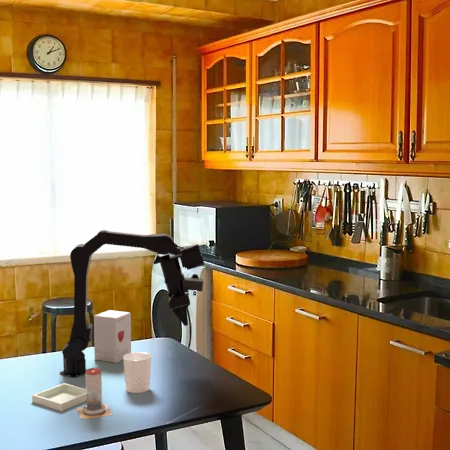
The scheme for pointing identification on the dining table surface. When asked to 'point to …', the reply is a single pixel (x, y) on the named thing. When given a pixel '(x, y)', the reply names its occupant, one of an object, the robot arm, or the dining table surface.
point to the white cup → (137, 371)
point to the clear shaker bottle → (93, 393)
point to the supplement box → (112, 335)
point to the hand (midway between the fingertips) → (185, 321)
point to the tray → (60, 397)
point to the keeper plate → (106, 413)
